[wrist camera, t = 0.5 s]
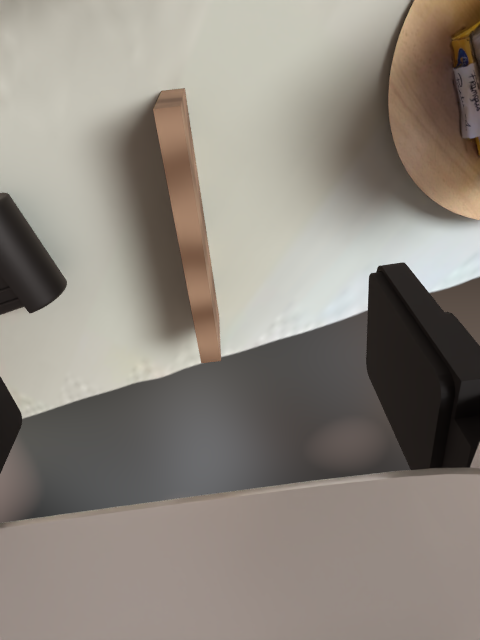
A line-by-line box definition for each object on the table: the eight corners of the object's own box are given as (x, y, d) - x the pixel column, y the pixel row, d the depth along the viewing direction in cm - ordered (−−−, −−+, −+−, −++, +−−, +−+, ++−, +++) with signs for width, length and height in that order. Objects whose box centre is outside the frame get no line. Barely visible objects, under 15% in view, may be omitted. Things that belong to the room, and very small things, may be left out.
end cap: (75, 270, 49) (58, 304, 43) (17, 290, 50) (-7, 327, 44) (19, 182, 43) (-8, 209, 38) (-45, 208, 44) (-81, 237, 39)
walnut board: (161, 90, 39) (152, 109, 33) (184, 88, 39) (180, 105, 33) (201, 318, 53) (201, 363, 47) (218, 316, 53) (221, 360, 47)
